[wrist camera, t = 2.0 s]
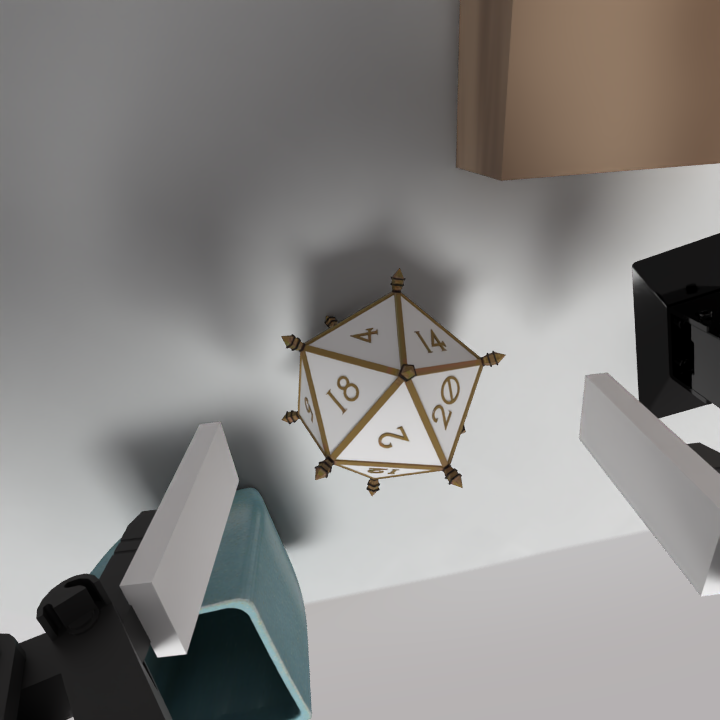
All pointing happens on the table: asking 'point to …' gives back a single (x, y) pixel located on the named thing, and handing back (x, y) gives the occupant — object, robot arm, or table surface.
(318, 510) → the table surface
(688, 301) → the black angular block
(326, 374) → the game die
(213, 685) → the flower pot
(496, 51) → the walnut block
